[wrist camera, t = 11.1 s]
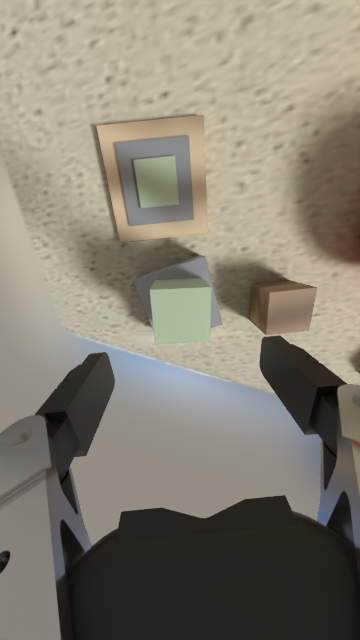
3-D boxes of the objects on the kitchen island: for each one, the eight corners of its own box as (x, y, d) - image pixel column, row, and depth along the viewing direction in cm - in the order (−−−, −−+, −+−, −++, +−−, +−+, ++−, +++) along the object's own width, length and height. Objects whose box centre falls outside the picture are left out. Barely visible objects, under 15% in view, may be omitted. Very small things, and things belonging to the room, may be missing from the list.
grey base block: (138, 275, 23) (132, 281, 19) (199, 254, 22) (205, 256, 18) (160, 330, 26) (159, 343, 22) (215, 313, 25) (222, 324, 21)
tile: (98, 129, 17) (93, 121, 16) (202, 119, 17) (204, 110, 16) (121, 242, 21) (118, 242, 20) (206, 233, 21) (208, 232, 20)
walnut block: (250, 283, 24) (269, 292, 19) (288, 279, 24) (317, 287, 19) (248, 319, 25) (266, 335, 21) (283, 315, 25) (309, 330, 21)
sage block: (155, 280, 19) (149, 289, 14) (201, 278, 19) (211, 287, 15) (158, 323, 21) (155, 344, 16) (201, 321, 21) (210, 341, 16)
